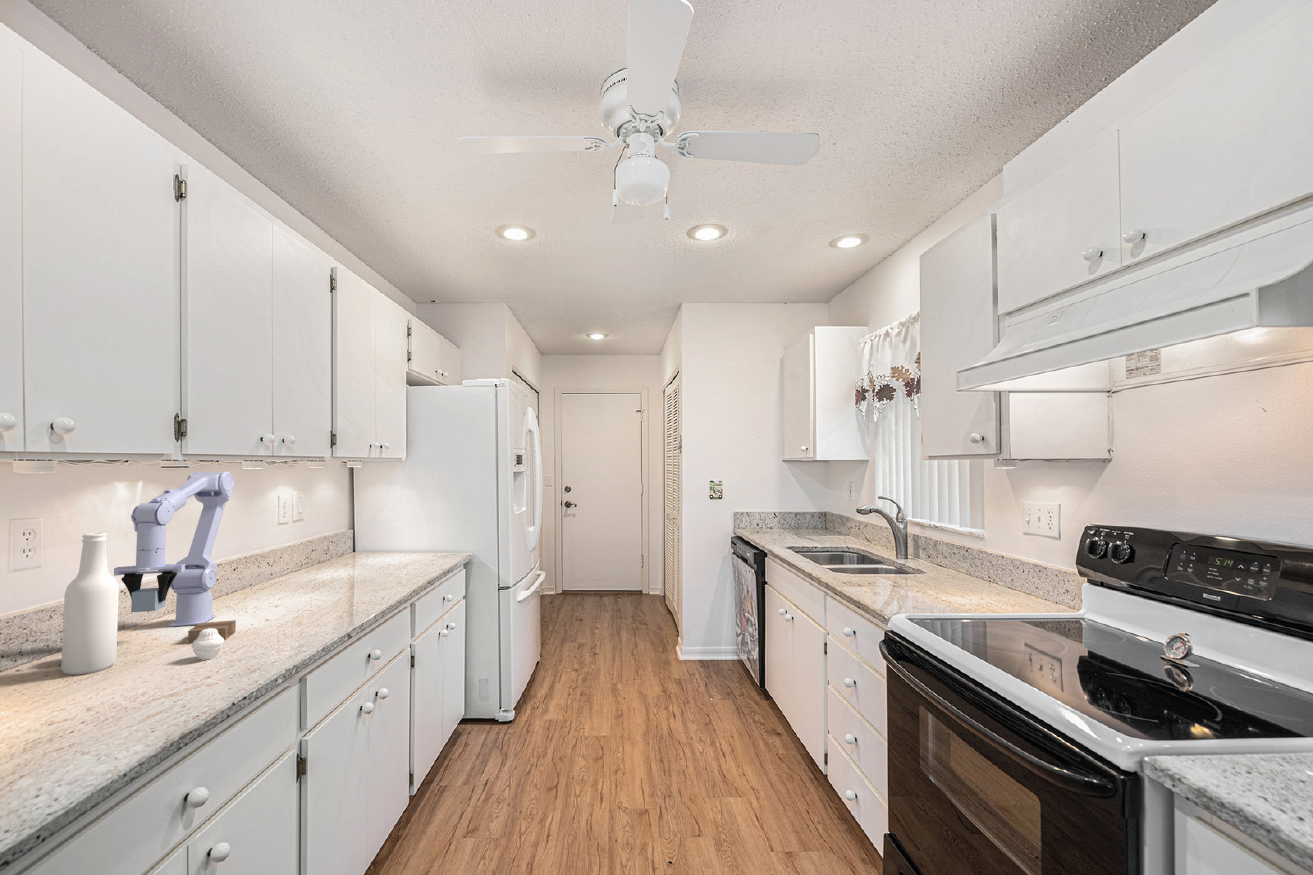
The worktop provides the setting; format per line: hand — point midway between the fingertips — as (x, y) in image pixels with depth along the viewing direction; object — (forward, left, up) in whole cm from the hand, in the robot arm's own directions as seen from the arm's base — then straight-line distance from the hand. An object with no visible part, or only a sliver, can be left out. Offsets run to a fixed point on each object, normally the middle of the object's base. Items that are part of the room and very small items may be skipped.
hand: (149, 601), depth 153 cm
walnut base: (+2, +15, -10) cm, 18 cm away
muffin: (+21, +21, -10) cm, 31 cm away
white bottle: (+22, -1, -10) cm, 24 cm away
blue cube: (0, 0, -2) cm, 2 cm away
